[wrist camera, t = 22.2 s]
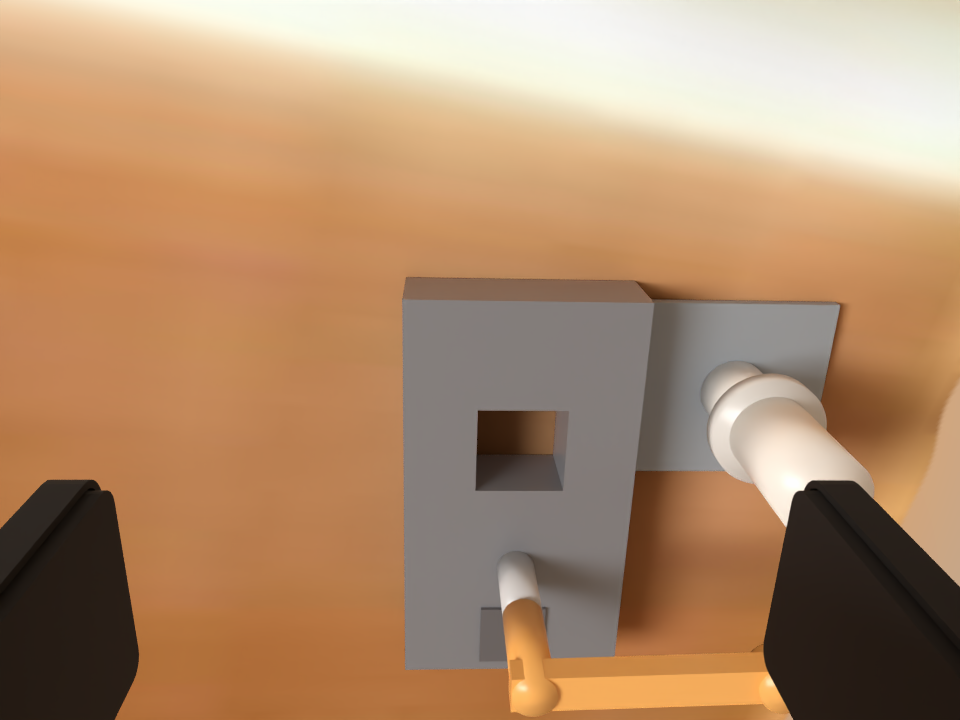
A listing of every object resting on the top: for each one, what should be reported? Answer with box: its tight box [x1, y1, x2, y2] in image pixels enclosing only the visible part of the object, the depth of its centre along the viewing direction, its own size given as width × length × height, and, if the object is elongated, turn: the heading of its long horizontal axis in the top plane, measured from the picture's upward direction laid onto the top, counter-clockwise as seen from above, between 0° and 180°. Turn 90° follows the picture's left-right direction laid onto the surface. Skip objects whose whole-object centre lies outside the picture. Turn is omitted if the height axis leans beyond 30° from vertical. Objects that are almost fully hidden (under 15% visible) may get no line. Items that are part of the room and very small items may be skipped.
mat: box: [635, 299, 840, 471], centre depth 43 cm, size 10×10×1 cm
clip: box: [503, 599, 790, 717], centre depth 36 cm, size 13×2×6 cm, turn 90°
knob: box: [700, 361, 874, 527], centre depth 38 cm, size 6×6×11 cm
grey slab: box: [402, 277, 654, 670], centre depth 41 cm, size 22×12×8 cm, turn 178°
